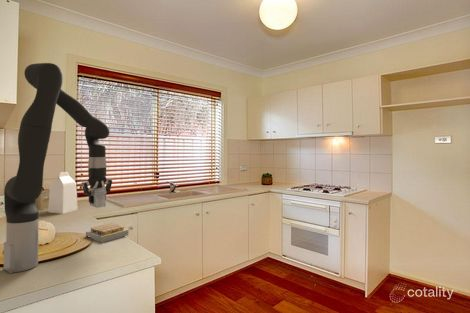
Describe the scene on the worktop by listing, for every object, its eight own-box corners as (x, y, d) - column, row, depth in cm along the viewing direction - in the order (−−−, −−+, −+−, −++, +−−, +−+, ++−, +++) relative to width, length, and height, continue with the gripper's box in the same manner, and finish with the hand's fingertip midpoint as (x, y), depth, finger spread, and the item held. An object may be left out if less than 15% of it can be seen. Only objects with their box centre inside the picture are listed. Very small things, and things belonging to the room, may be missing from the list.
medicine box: (105, 206, 125) (105, 188, 125) (95, 208, 122) (95, 189, 122) (99, 203, 131) (99, 186, 130) (89, 205, 127) (89, 187, 127)
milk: (63, 213, 173) (63, 173, 172) (48, 212, 175) (48, 172, 174) (77, 209, 184) (78, 172, 184) (63, 208, 187) (63, 171, 186)
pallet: (103, 235, 126) (103, 232, 126) (90, 231, 132) (90, 227, 132) (124, 230, 136) (124, 226, 136) (111, 226, 142) (111, 222, 141)
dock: (102, 242, 124) (102, 236, 124) (85, 236, 132) (85, 230, 132) (128, 234, 136) (128, 229, 136) (111, 229, 144) (112, 224, 144)
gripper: (86, 168, 117) (86, 206, 118) (116, 166, 129) (116, 201, 130) (77, 167, 121) (77, 204, 122) (107, 165, 133) (107, 199, 134)
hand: (97, 202), depth 126 cm, fingers closed on medicine box, 5 cm apart
